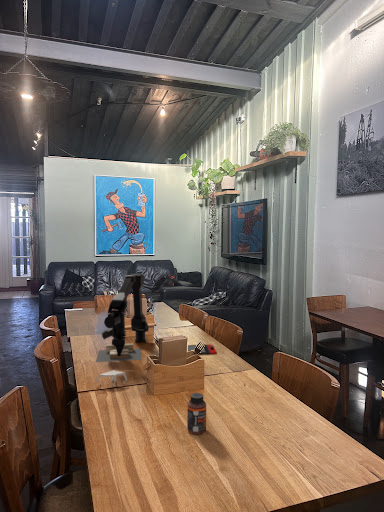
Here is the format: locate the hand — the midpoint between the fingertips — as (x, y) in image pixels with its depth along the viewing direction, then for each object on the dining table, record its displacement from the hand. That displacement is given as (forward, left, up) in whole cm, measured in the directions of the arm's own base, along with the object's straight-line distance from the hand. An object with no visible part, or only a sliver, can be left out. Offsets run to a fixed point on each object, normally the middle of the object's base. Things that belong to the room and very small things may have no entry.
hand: (119, 353), depth 186 cm
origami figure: (+34, -2, -2) cm, 34 cm away
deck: (0, 0, -1) cm, 1 cm away
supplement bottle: (+75, +27, -2) cm, 80 cm away
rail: (-8, 0, -2) cm, 8 cm away
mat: (-2, 0, -2) cm, 2 cm away
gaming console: (-2, +35, -2) cm, 35 cm away
